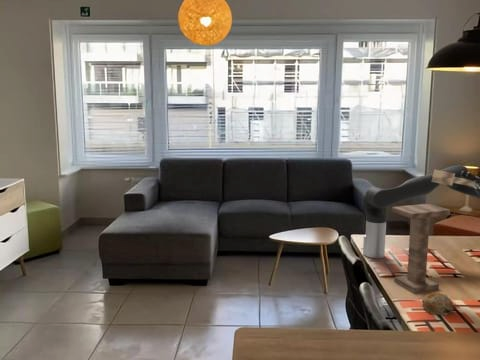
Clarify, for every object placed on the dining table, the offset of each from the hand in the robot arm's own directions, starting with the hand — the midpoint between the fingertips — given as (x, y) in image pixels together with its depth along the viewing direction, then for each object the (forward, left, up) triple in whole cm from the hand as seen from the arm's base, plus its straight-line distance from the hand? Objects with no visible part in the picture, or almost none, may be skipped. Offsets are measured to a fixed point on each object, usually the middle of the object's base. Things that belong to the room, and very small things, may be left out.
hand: (464, 173), depth 192 cm
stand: (-10, -20, -44) cm, 50 cm away
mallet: (-1, -2, -5) cm, 6 cm away
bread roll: (+4, -37, -45) cm, 58 cm away
